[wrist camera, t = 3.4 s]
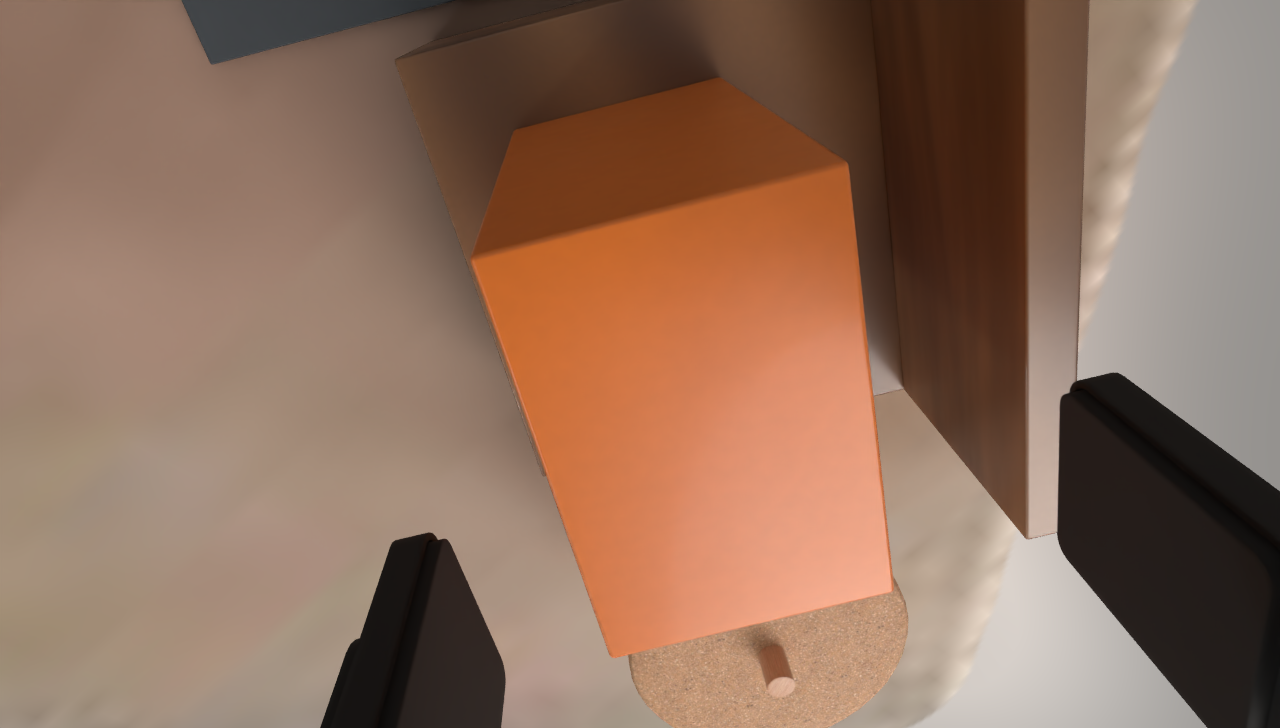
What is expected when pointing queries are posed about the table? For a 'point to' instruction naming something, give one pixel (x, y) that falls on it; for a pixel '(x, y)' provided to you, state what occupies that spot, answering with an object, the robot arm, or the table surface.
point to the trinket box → (778, 668)
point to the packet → (691, 360)
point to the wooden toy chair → (851, 175)
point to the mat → (283, 21)
